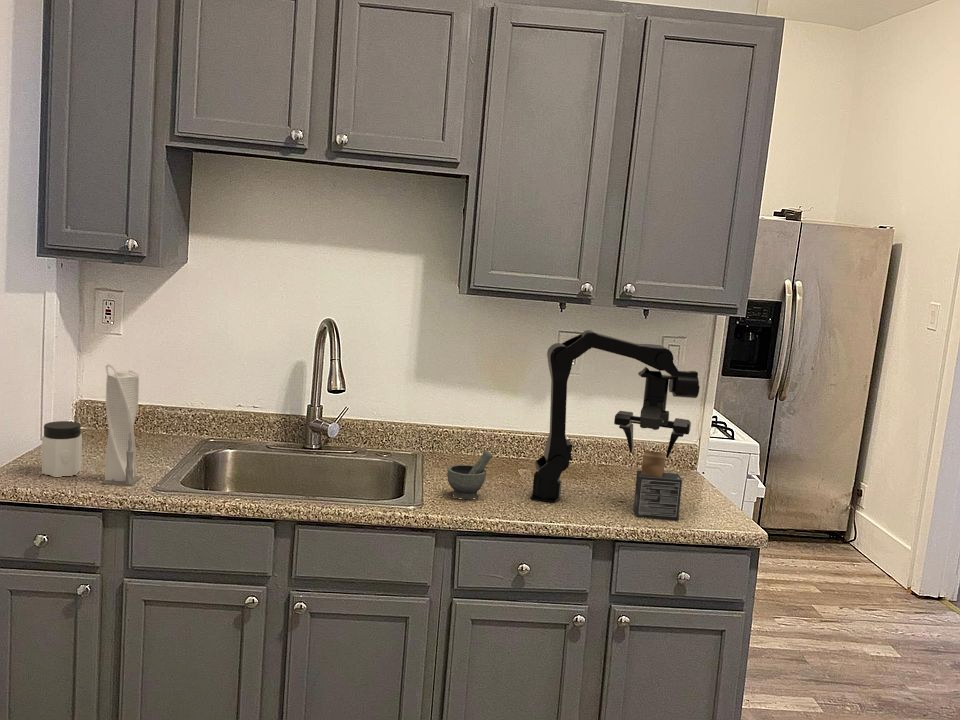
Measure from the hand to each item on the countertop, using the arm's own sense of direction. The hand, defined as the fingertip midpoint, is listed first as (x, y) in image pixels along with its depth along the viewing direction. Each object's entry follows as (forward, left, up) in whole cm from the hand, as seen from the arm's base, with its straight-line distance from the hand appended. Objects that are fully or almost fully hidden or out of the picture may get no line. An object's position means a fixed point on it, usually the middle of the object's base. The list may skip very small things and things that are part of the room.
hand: (649, 455), depth 239 cm
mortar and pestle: (-42, -17, -13) cm, 48 cm away
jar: (-135, -51, -13) cm, 145 cm away
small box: (+4, -8, -13) cm, 16 cm away
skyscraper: (-120, -49, -13) cm, 131 cm away
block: (+2, -8, -3) cm, 9 cm away
